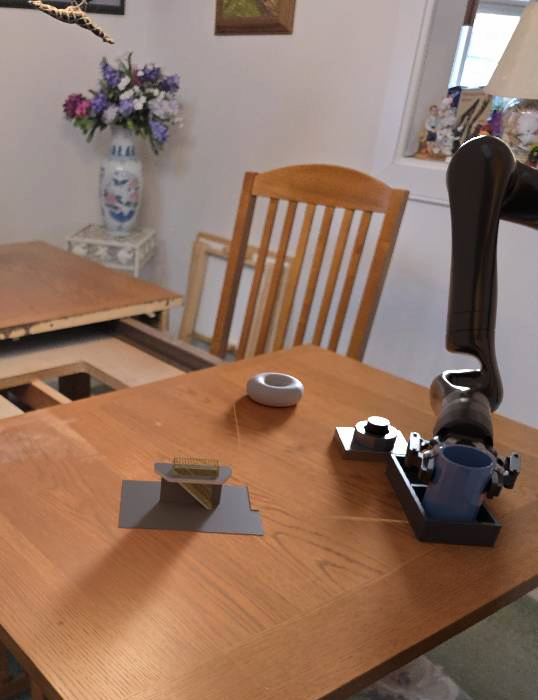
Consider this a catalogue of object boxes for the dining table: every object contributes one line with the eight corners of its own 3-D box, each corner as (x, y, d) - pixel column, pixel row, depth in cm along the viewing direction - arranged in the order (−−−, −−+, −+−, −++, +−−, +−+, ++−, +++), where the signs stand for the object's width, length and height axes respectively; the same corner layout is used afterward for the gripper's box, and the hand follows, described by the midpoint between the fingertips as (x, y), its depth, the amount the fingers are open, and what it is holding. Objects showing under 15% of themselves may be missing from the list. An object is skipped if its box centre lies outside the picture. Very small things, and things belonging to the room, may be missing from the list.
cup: (462, 507, 93) (485, 446, 88) (480, 534, 88) (504, 471, 83) (412, 503, 93) (431, 442, 88) (426, 530, 88) (448, 467, 83)
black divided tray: (448, 477, 102) (455, 457, 100) (493, 547, 87) (502, 526, 85) (384, 472, 102) (390, 453, 100) (418, 541, 87) (425, 520, 86)
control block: (397, 440, 111) (403, 420, 109) (410, 464, 104) (417, 443, 102) (333, 436, 111) (338, 416, 109) (343, 460, 105) (348, 439, 103)
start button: (384, 427, 107) (386, 417, 106) (389, 437, 105) (392, 426, 104) (363, 426, 107) (365, 415, 106) (367, 435, 105) (370, 424, 104)
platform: (264, 534, 87) (272, 488, 83) (118, 527, 87) (120, 480, 83) (253, 486, 97) (260, 443, 93) (122, 479, 97) (124, 436, 93)
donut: (249, 384, 128) (240, 404, 120) (252, 366, 126) (243, 385, 118) (304, 393, 126) (299, 413, 118) (308, 374, 124) (302, 394, 116)
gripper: (416, 397, 98) (406, 444, 85) (528, 418, 94) (535, 471, 81) (402, 445, 102) (390, 497, 90) (509, 468, 98) (512, 526, 85)
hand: (459, 485), depth 85 cm, fingers open, 7 cm apart
